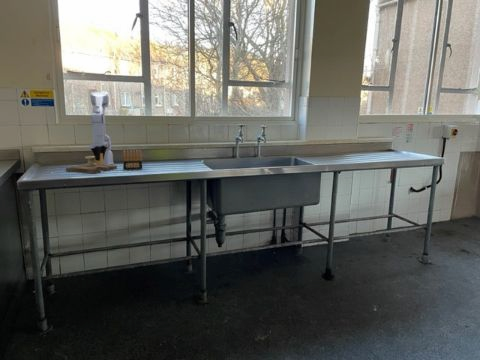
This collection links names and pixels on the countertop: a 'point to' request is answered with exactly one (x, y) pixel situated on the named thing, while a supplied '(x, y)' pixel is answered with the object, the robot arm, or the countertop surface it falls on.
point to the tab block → (100, 159)
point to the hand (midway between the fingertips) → (99, 160)
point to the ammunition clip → (132, 160)
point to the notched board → (91, 168)
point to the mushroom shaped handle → (91, 161)
